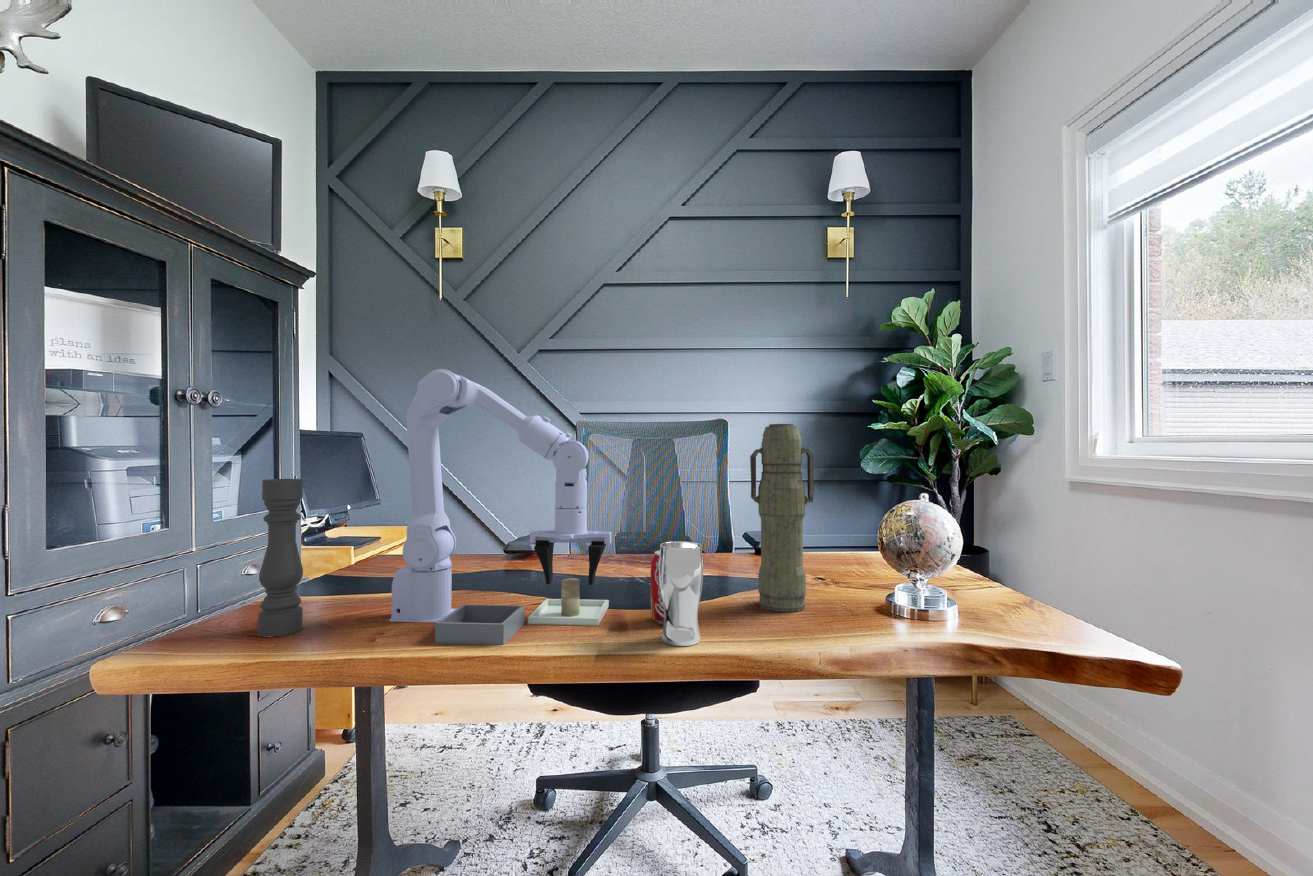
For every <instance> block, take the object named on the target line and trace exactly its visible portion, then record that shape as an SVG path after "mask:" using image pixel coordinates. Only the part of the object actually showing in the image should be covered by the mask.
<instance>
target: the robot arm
mask: <svg viewBox="0 0 1313 876" xmlns="http://www.w3.org/2000/svg"><path fill="white" fill-rule="evenodd" d="M467 407H469V408H475V409H481V410H483V411H485V412H487V413H488V414H490V415H491V416H493V417H495V419H498V420H499V421H501V422H502V423H503V424H505V425H507V426H509V427H510V428H512V429H513V430H514V431H516V432H517V436H518V440H519V443H522V444H523V445H524V446H525V447H527V448H529V449H531V450H532V451H533V452H535V453H537V454H538V455H539V456H541V457H542V458H544V459H545V460H547V461H552V463H553V465H554V467H555V468H556V471H555V474H556V476H555V477H556V478H555V484H554V485H555V486H554V491H555V492H554V494H555V495H554V529H551V530H531V531H529V543H531V544H535V545H534V546H533V548H534V549H533V550H534V552H535V554H536V555H537V558H538V560H539V562H540V564H541V566H542V567H541V568H542V571H543V574H544V579H545V584H546V585H550V584H552V583H553V581H554V579H553V578H554V575H553V574H554V571H553V560H554V559H553V558H554V549H555V548H554V547H555V546H554V545H555V543H563V544H565V543H566V544H569V543H570V544H574V543H575V544H589V545H588V547H587V549H588V550H587V551H588V564H589V565H588V566H589V568H588V577H587V578H588V581H587V583H588V586H593V585H595V584H594V583H595V579H596V573H597V570H598V565H599V563H600V560H601V558H602V555H603V553H604V551H605V548H606V546H607V545H611V543H612V531H599V530H588V527H587V525H588V523H587V522H588V521H587V520H588V519H587V518H588V481H587V476H588V473H587V468H585V467H586V466H587V464H588V462H589V459H590V458H589V457H590V455H589V451H588V448H587V447H586V446H585V445H584V444H583V443H582V442H581V441H579V440H573V439H572V437H573V434H571V433H570V432H566V433H565V432H563V430H561V429H559V428H558V427H556V426H555V425H553V424H551V419H550V418H548V417H547V416H544V415H543V416H542V417H541V416H539V415H538V414H537V415H536V414H535V415H532V416H531V415H530V416H527V415H525V414H524V413H523V412H521V411H520V410H518V409H517V408H516V407H514V406H513V405H511V403H508V402H507V401H506V400H504V399H503V398H502V397H500V396H499V395H497V394H496V393H494V392H493V391H491V389H489V388H487V387H485V386H482V385H481V384H479V383H477V382H474V381H472V380H469V378H467V377H465V376H463V375H460V374H456V373H453V372H452V371H450V370H449V369H445V368H437V369H434V370H432V371H430V372H428V373H427V374H426V375H425V376H424V377H423V378H422V379H420V380H419V381H418V382H417V391H416V393H415V396H414V398H413V400H412V402H411V404H410V406H409V408H408V411H407V413H406V418H405V419H406V420H405V421H406V423H405V424H406V433H407V436H406V438H407V450H408V451H407V452H408V464H409V465H408V467H409V479H410V495H411V506H412V508H411V509H412V516H411V518H410V521H409V522H408V524H407V526H406V540H405V542H404V544H403V547H402V557H403V560H404V562H405V563H406V565H407V567H400V568H399V569H398V570H396V572H395V573H394V575H393V579H392V581H391V582H392V583H391V611H390V612H391V614H390V615H391V616H390V617H391V618H390V619H389V620H388V621H389V622H397V623H398V622H401V623H402V622H403V623H405V622H407V623H408V622H409V623H436V622H438V621H439V620H441V619H442V618H444V617H445V616H447V615H448V614H450V613H451V612H453V611H454V610H456V609H457V608H452V582H453V581H452V567H453V566H452V565H453V564H452V561H451V556H453V554H454V552H455V551H456V548H457V539H456V535H455V534H454V532H453V531H452V529H451V524H450V523H451V522H450V519H449V517H448V516H447V513H446V512H445V505H444V501H445V500H444V489H443V477H442V462H441V461H442V460H441V448H440V447H441V446H440V433H439V432H440V430H439V426H440V425H441V424H442V423H443V422H444V421H445V420H447V419H448V417H449V416H451V415H452V414H454V413H456V412H458V411H460V410H463V409H464V408H467ZM571 439H572V440H571Z"/></svg>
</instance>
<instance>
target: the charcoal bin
mask: <svg viewBox="0 0 1313 876" xmlns="http://www.w3.org/2000/svg"><path fill="white" fill-rule="evenodd" d="M455 609H456V610H454V611H453V612H451V613H450V614H448V615H447V616H445V617H444V618H442V619H441V620H439V621H438V622H435V626H434V627H435V629H434V630H435V631H434V632H435V635H434V637H435V639H434V640H435V641H434V642H435V644H450V645H451V644H452V645H494V646H495V645H498V646H504V645H505V644H506V643H507V642H508V641H509V640H510V639H511V638H512V637H513V636H514V635H515V634H516V633H517V632H518V631H519V630H520V629H521V627H523V626H524V625H525V605H523V604H522V605H520V604H519V605H518V604H517V605H513V604H512V605H511V604H509V605H508V604H462V605H461V606H459V607H457V608H455Z"/></svg>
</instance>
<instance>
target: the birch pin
mask: <svg viewBox="0 0 1313 876" xmlns="http://www.w3.org/2000/svg"><path fill="white" fill-rule="evenodd" d="M560 584H561V591H560V592H561V593H560V594H561V597H560V599H561V615H562V616H567V617H571V616H577V615H579V599H580V579H579V578H576V577H575V578H573V577H569V578H563V579H561V581H560Z"/></svg>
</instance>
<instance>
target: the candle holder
mask: <svg viewBox="0 0 1313 876" xmlns="http://www.w3.org/2000/svg"><path fill="white" fill-rule="evenodd" d="M261 482H262V483H261V485H262V489H261V493H262V494H261V500H262V501H264V503H263V505H264V507H266V510H267V511H268V513H267V514H266V515H264V516H263V522H265V523H266V525H267V526H268V527H267V528H268V529H267V530H268V531H267V533H268V535H267V545H266V549H265V553H264V557H263V560H262V564H261V567H260V571H259V573H258V580H259V583H260V585H261V586H262V587H263V588H264V589H265V591H264V593H265V594H266V596H264V598H263V600H262V601H261V602H260V605H259V607H260V609H262V610H261V611H259V612H258V614H257V636H258V635H259V636H258V637H260V636H280V637H284V636H283V635H286V636H288V635H287V634H290V635H293V634H292V633H294V632H296V633H299V632H301V630H302V631H303V614H304V613H303V606H301V603H302V598H301V597H300V596H299V595H298V593H297V592H296V590H297V589H298V587H297V586H298V585H299V583H300V582H301V580H302V579H303V576H304V568H303V565H302V560H301V557H300V553H299V550H298V545H297V541H296V540H297V539H296V537H297V523H298V521H300V520H301V517H302V516H301V514H300V513H298V512H297V509H298V508H299V506H300V505H301V503H302V499H303V498H304V497H303V495H304V479H303V478H269V479H268V478H267V479H262V480H261ZM294 634H295V633H294Z"/></svg>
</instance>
